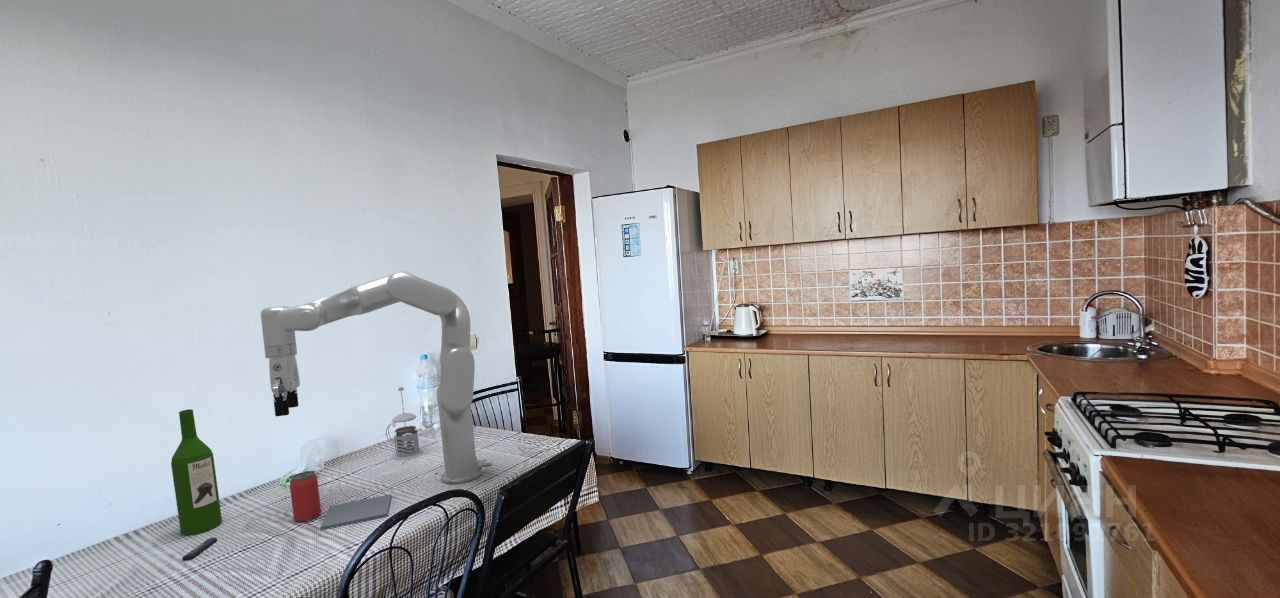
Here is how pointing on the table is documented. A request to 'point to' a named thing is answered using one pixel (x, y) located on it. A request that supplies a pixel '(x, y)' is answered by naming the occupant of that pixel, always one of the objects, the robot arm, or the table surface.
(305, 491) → the beer can
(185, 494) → the wine bottle
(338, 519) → the mat
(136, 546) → the table surface
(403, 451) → the french press
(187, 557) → the usb stick
